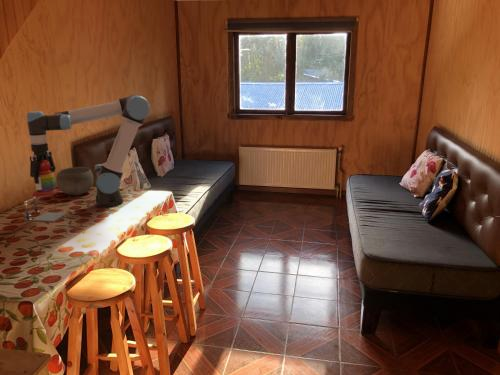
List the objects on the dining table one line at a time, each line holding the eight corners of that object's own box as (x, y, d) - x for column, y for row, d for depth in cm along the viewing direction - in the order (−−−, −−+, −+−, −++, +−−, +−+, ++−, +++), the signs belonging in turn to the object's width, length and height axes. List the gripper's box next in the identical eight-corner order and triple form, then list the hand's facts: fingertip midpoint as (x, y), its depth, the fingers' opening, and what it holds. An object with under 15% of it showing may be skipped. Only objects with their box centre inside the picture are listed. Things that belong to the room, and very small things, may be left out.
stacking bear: (43, 190, 222) (38, 157, 217) (61, 190, 221) (56, 157, 216) (30, 196, 212) (25, 161, 207) (49, 196, 211) (44, 161, 206)
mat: (67, 214, 224) (67, 213, 224) (53, 222, 213) (53, 221, 213) (47, 213, 227) (46, 212, 226) (32, 220, 215) (32, 219, 215)
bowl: (88, 198, 253) (85, 173, 248) (52, 198, 252) (49, 174, 248) (99, 188, 273) (96, 165, 269) (67, 189, 272) (63, 166, 268)
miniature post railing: (48, 211, 229) (45, 196, 227) (29, 221, 215) (26, 205, 212) (35, 210, 231) (33, 195, 228) (15, 220, 216) (12, 204, 214)
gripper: (46, 139, 220) (52, 181, 226) (16, 146, 199) (24, 192, 206) (59, 139, 219) (64, 181, 225) (31, 147, 198) (38, 193, 204)
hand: (45, 186), depth 215 cm, fingers closed on stacking bear, 9 cm apart
